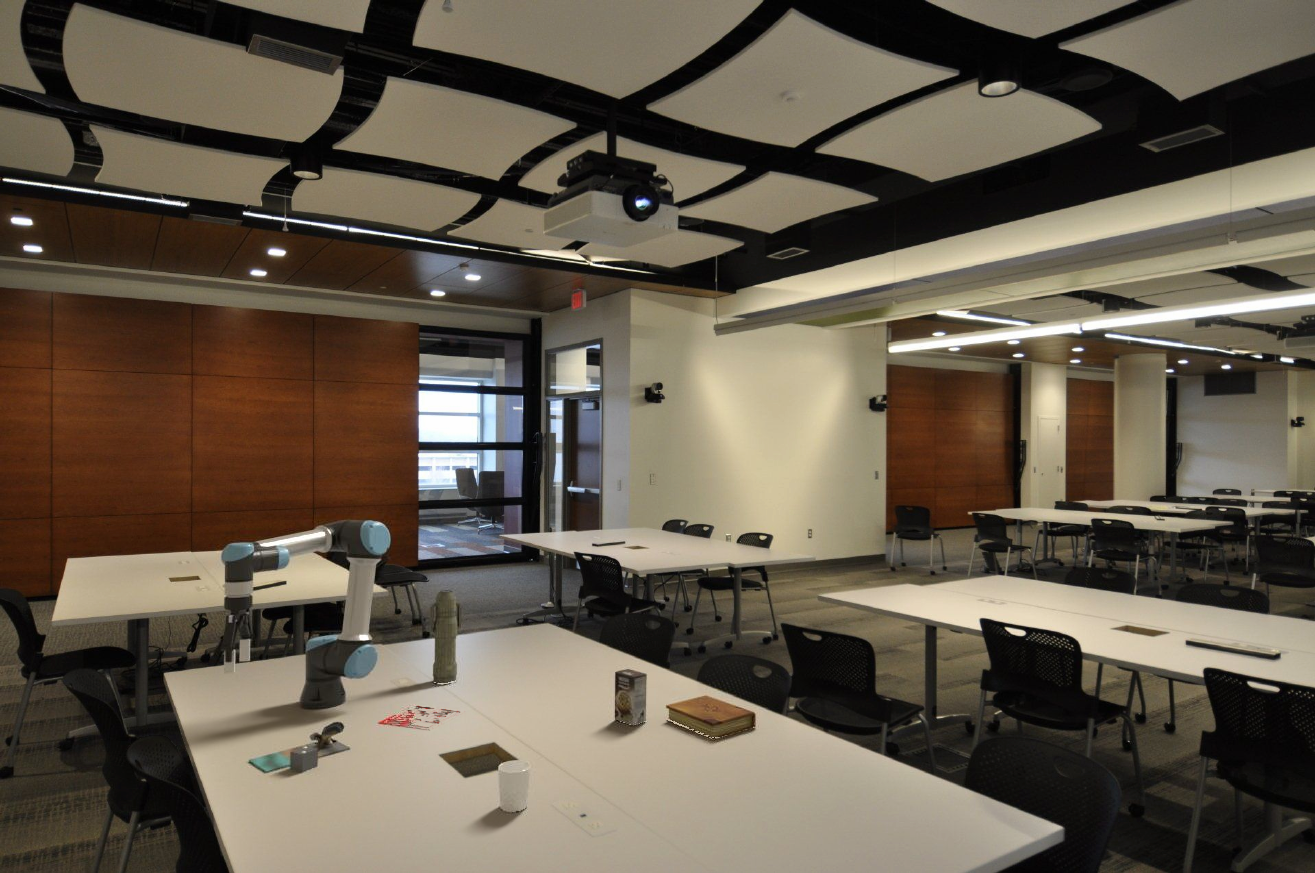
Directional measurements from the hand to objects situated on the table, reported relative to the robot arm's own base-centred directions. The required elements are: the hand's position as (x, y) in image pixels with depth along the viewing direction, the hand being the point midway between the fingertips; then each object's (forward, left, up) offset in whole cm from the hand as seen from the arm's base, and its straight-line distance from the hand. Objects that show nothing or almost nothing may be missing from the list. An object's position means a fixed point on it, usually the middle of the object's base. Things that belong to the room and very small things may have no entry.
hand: (237, 666), depth 235 cm
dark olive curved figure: (-19, +19, -24) cm, 36 cm away
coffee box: (-97, +69, -24) cm, 122 cm away
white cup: (-31, +92, -24) cm, 100 cm away
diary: (-113, +90, -25) cm, 147 cm away
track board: (-11, +19, -24) cm, 33 cm away
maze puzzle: (-53, +15, -25) cm, 61 cm away
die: (-7, +29, -24) cm, 39 cm away
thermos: (-82, -16, -24) cm, 87 cm away
